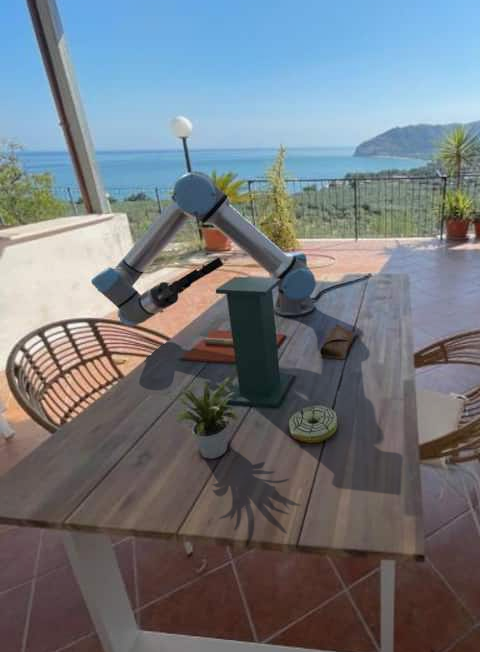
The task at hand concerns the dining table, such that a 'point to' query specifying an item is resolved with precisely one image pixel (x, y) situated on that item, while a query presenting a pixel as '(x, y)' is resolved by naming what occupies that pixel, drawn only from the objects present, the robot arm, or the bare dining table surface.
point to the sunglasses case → (338, 343)
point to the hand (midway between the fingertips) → (210, 266)
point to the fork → (218, 341)
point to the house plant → (209, 420)
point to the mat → (217, 349)
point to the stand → (255, 342)
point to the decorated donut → (313, 424)
